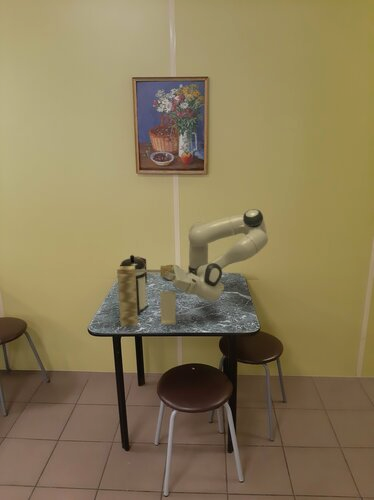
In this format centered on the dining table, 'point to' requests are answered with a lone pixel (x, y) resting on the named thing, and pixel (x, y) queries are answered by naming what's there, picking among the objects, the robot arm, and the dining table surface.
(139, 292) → the coffee press
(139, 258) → the supplement box
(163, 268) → the beige mallet
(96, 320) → the dining table surface
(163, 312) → the cream rest post
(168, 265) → the lidded jar
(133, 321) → the birch bearing block
